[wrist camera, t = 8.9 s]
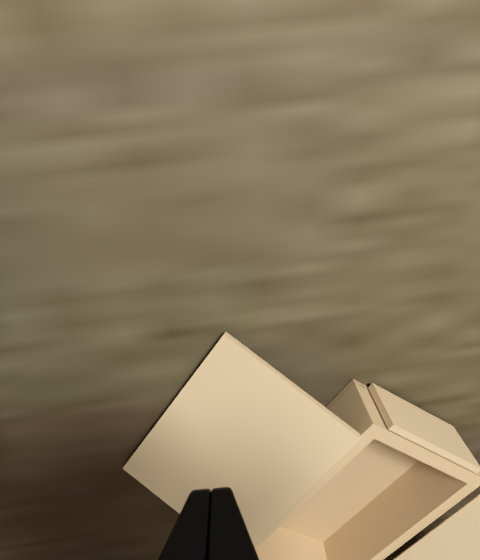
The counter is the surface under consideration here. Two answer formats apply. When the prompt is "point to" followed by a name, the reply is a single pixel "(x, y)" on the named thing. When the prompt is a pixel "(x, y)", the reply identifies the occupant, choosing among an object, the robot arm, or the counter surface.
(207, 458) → the carton
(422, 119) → the counter surface
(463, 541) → the flap
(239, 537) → the robot arm
